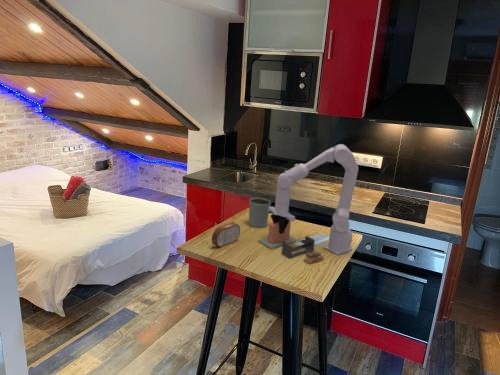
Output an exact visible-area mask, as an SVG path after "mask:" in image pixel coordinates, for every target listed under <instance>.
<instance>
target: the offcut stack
mask: <svg viewBox="0 0 500 375" xmlns="http://www.w3.org/2000/svg"><path fill="white" fill-rule="evenodd" d="M321 261H324V254H322V252H320V251H319V250H317V249H315V250H314V251H312V252H309V253H306V254H305V258H303V262H304V263H305V264H307V265H312V264H314V263H318V262H321Z"/></svg>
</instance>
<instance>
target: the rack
mask: <svg viewBox="0 0 500 375" xmlns="http://www.w3.org/2000/svg"><path fill="white" fill-rule="evenodd" d="M315 242H316V240H315V238H312V237H309V236H308V235H305V237H304V243H303V244H300V245H296V246H293V245H291V244H287V243H286V242H283V246H281V247H282V248H281V254H282V255H283V256H285V257H286V258H288V259H292V258H296V257H300V256H302V255H306V253H309V252H312V251H315V250H314V249H315ZM298 250H299V251H298Z"/></svg>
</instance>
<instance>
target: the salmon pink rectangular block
mask: <svg viewBox="0 0 500 375" xmlns="http://www.w3.org/2000/svg"><path fill="white" fill-rule="evenodd" d="M291 224H292V222H289V223H288V225H287V226H286V229H285V231H284V233H282V234H280V233H279V222H276V223H273V222H272V223H270V224H269V225H268V237H267V238H268V242H269V243H271V244H273V243H276V242H280V241H284V240H288V239H289V236H290V232H291Z"/></svg>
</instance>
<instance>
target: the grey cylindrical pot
mask: <svg viewBox="0 0 500 375" xmlns="http://www.w3.org/2000/svg"><path fill="white" fill-rule="evenodd" d="M271 205H272V201H271V200H269V199H267V198H262V197H252V198H250V199H249V207H248V208H249V209H248V210H249V213H248V214H249V217H248V219H249V220H248V225H249V226H250V227H252V228H256V229H262V228H266V227H267V224H268V218H269V214H270V212H269V211H268V207H271Z"/></svg>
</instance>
